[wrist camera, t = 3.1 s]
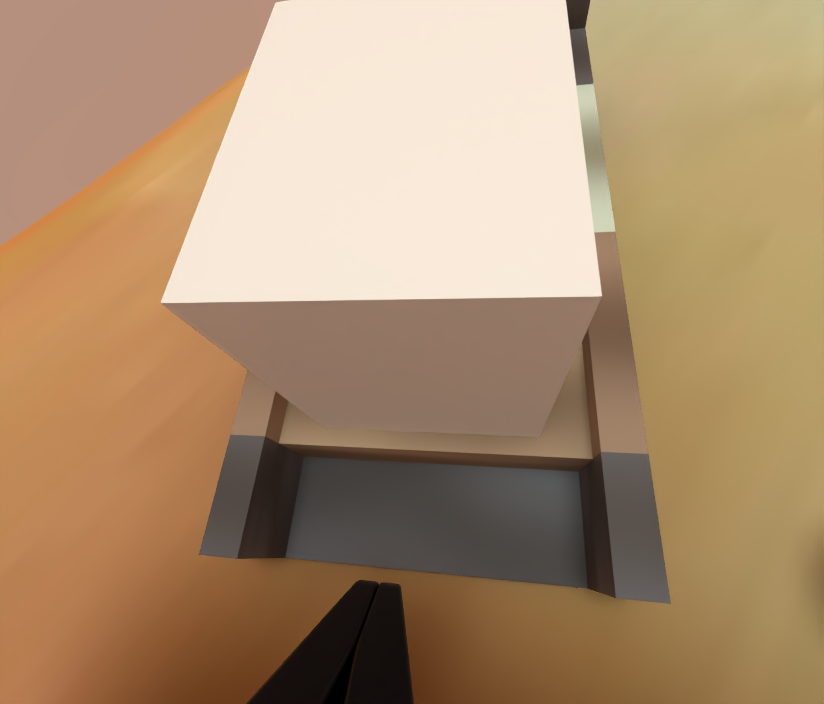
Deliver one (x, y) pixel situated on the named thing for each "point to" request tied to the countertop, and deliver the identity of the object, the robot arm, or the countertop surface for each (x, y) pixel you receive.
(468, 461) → the box
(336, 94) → the block
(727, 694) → the countertop surface
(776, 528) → the countertop surface
